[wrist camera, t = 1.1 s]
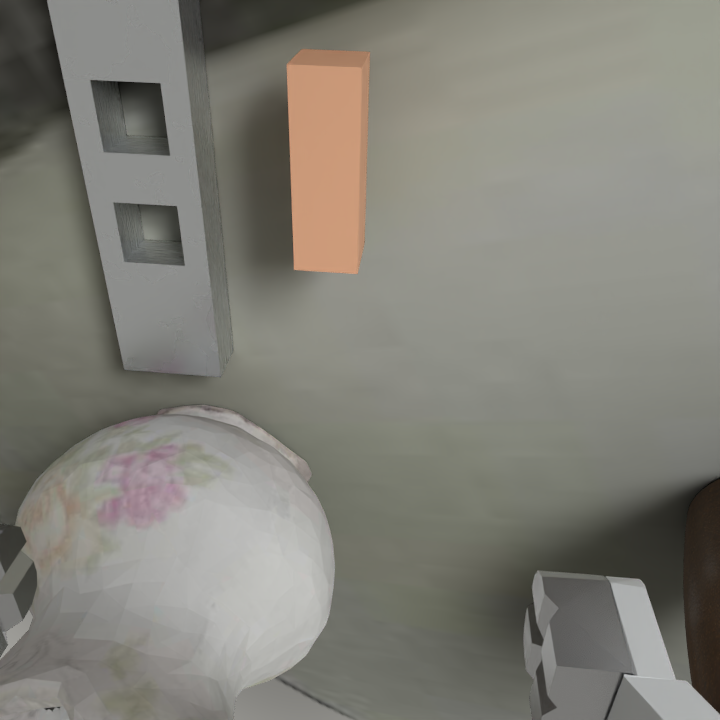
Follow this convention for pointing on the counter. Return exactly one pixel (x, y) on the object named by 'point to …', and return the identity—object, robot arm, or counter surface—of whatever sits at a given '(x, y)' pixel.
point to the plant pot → (703, 592)
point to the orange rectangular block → (328, 157)
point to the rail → (150, 178)
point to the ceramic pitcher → (168, 571)
